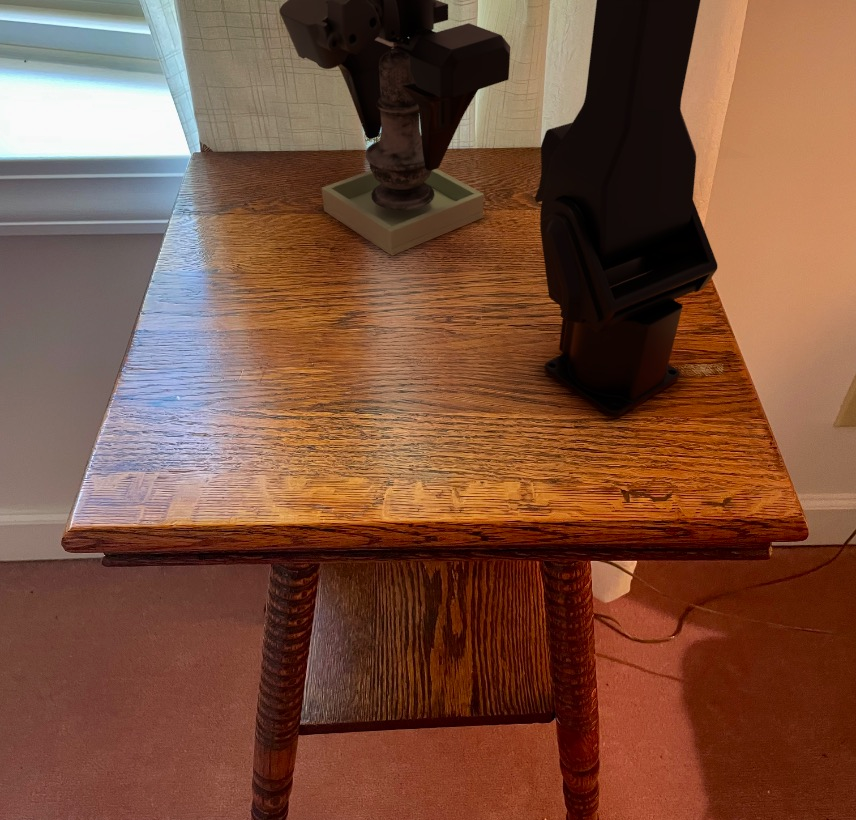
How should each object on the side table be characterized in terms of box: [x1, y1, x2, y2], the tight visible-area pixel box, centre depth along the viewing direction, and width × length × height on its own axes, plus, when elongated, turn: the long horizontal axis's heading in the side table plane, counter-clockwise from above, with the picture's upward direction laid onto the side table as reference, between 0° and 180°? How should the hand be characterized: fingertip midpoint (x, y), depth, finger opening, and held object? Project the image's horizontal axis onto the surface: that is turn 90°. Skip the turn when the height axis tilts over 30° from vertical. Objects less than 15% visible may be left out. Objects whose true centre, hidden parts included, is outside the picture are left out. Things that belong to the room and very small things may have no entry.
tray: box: [321, 168, 485, 256], centre depth 69 cm, size 10×10×2 cm
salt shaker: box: [364, 48, 435, 210], centre depth 64 cm, size 6×6×12 cm
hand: (401, 152), depth 66 cm, fingers closed on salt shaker, 7 cm apart
